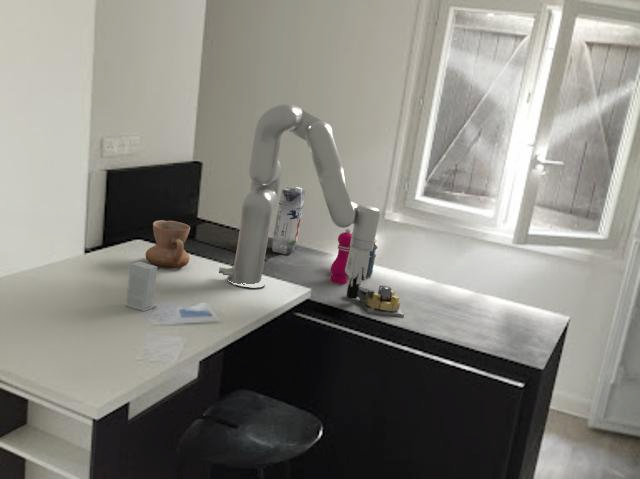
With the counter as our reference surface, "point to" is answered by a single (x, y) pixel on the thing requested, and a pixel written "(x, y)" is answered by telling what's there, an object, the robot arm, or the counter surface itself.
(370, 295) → the yellow mechanical assembly
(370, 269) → the canister
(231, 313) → the counter surface
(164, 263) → the ceramic jug
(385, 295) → the grey mounting base
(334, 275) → the pepper mill
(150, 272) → the skincare box
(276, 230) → the juice carton
